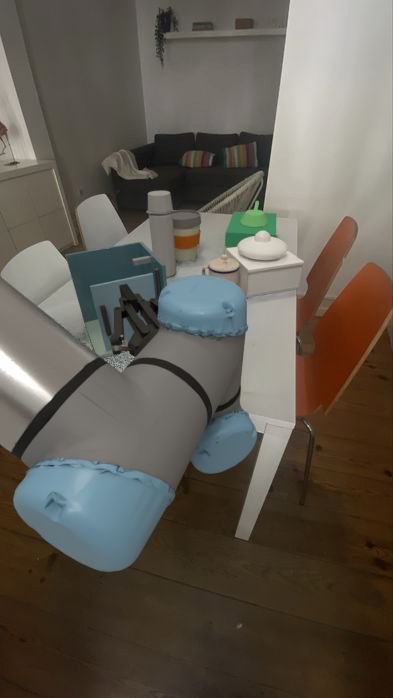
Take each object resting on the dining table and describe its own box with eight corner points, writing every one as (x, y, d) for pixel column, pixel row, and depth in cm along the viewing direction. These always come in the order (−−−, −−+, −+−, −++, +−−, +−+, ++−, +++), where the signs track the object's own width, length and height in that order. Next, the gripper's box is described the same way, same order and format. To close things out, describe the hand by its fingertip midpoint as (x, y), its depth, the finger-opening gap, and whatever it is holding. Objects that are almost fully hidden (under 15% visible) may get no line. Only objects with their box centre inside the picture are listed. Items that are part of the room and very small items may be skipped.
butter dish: (271, 266, 110) (278, 218, 100) (299, 289, 96) (309, 237, 87) (224, 273, 106) (226, 224, 96) (245, 298, 93) (250, 244, 83)
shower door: (107, 353, 71) (91, 289, 61) (105, 349, 73) (89, 285, 63) (161, 338, 76) (154, 276, 66) (158, 334, 77) (152, 272, 67)
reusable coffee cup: (201, 263, 113) (201, 219, 104) (166, 263, 114) (163, 220, 104) (201, 250, 123) (201, 209, 114) (169, 250, 124) (166, 209, 114)
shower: (97, 359, 72) (76, 283, 60) (84, 324, 83) (65, 254, 71) (171, 338, 78) (165, 264, 66) (150, 308, 89) (141, 241, 77)
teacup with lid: (243, 290, 97) (246, 253, 89) (228, 303, 91) (230, 264, 84) (210, 281, 102) (210, 245, 95) (194, 292, 96) (193, 255, 89)
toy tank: (277, 199, 135) (277, 224, 108) (273, 228, 143) (272, 258, 116) (236, 197, 138) (226, 221, 111) (234, 226, 146) (224, 255, 119)
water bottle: (181, 275, 106) (176, 193, 90) (160, 281, 103) (152, 197, 87) (168, 265, 112) (162, 188, 97) (147, 271, 109) (138, 191, 93)
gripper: (128, 400, 42) (93, 316, 59) (214, 370, 47) (158, 300, 64) (118, 356, 38) (83, 279, 55) (215, 328, 42) (154, 265, 59)
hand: (124, 291), depth 59 cm, fingers closed
